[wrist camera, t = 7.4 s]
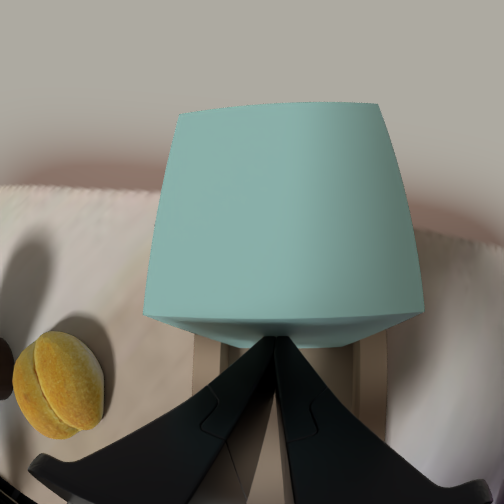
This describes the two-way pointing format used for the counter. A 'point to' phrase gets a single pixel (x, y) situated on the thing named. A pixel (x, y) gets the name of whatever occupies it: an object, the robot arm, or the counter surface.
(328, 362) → the walnut chute
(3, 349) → the coffee mug
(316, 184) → the teal block
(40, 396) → the bread roll
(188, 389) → the counter surface
